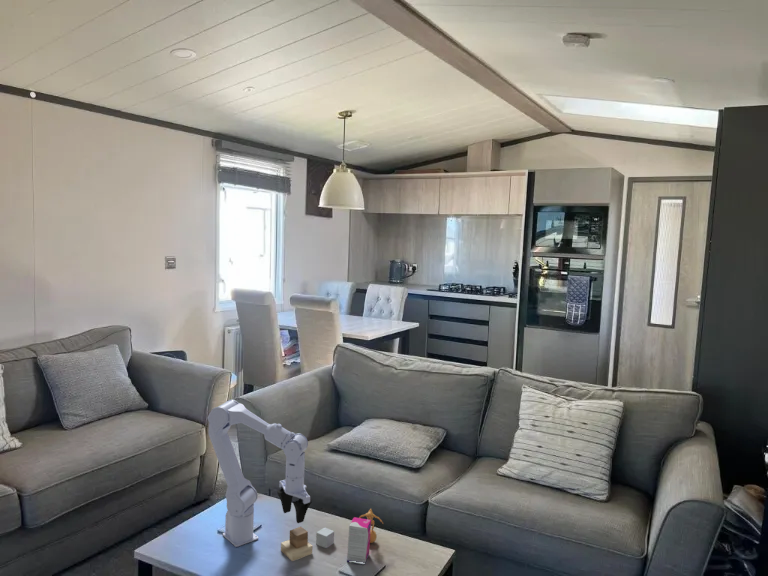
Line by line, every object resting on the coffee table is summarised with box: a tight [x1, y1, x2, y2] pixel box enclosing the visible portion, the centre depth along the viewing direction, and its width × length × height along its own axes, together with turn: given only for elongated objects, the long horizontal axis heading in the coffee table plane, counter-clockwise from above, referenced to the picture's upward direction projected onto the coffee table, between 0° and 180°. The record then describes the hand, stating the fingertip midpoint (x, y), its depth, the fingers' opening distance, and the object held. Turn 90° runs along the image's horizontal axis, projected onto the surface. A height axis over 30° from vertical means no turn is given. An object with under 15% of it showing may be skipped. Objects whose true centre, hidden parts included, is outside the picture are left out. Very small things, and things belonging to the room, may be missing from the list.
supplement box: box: [346, 516, 372, 564], centre depth 167 cm, size 6×6×12 cm
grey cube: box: [315, 527, 335, 549], centre depth 175 cm, size 4×4×4 cm
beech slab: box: [280, 539, 314, 562], centre depth 170 cm, size 7×7×3 cm
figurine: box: [358, 508, 384, 544], centre depth 176 cm, size 8×6×12 cm
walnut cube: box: [289, 526, 309, 549], centre depth 170 cm, size 4×4×4 cm
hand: (293, 516), depth 172 cm, fingers open, 7 cm apart
